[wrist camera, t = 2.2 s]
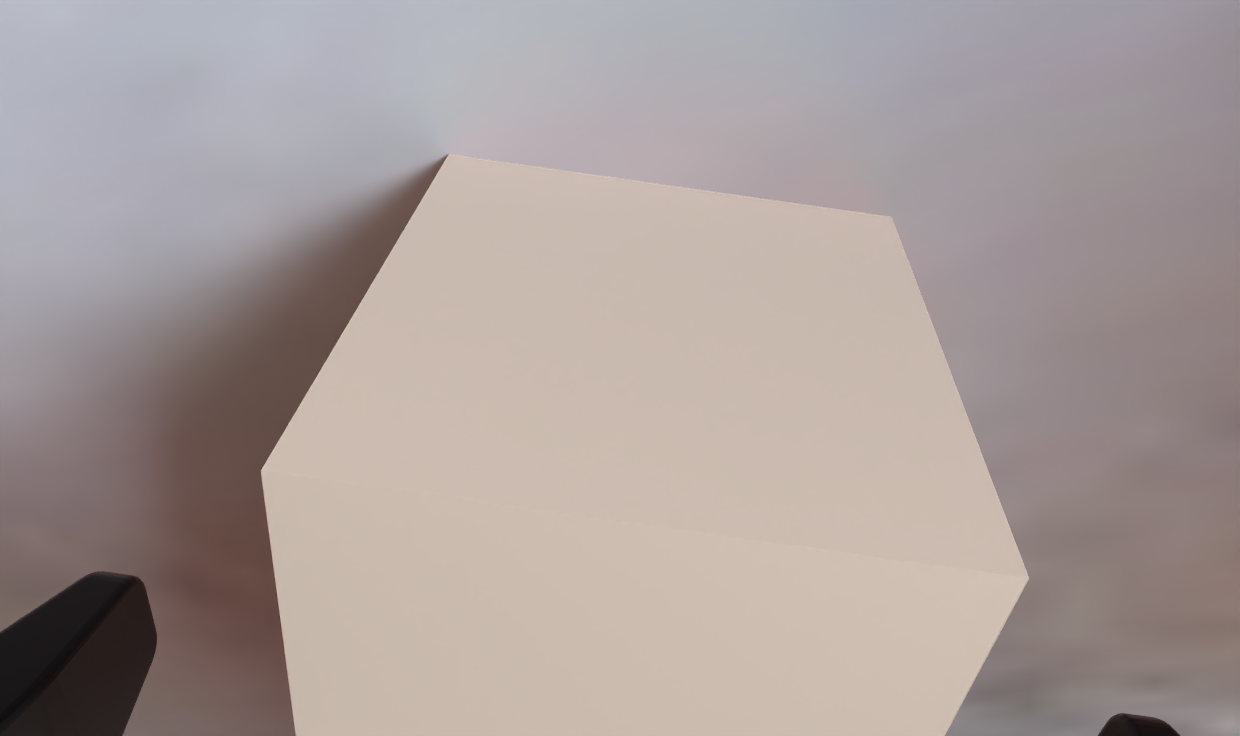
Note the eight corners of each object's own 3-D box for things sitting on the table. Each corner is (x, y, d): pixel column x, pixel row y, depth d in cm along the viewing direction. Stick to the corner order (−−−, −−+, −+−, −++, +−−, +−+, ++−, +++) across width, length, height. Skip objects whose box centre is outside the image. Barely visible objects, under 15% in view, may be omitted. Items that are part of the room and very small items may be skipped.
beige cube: (787, 545, 15) (828, 951, 10) (444, 497, 15) (316, 881, 10) (890, 214, 12) (1028, 579, 7) (450, 152, 12) (260, 471, 7)
